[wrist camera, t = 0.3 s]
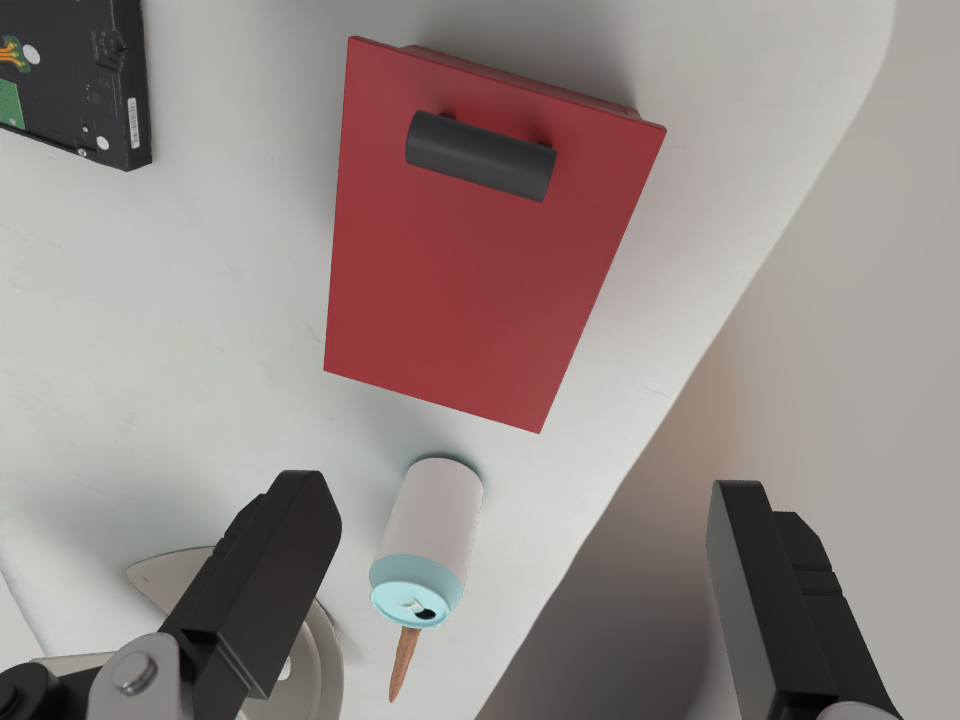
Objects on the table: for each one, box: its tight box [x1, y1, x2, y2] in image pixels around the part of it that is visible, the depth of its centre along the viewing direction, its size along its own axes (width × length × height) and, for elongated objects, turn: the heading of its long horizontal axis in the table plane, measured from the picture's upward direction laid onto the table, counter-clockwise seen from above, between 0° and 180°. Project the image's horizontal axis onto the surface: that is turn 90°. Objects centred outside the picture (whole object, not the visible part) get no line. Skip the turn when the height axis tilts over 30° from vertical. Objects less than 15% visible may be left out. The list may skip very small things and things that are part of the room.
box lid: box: [324, 36, 667, 434], centre depth 23 cm, size 16×13×5 cm
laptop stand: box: [29, 547, 344, 720], centre depth 60 cm, size 26×24×16 cm
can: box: [369, 458, 483, 629], centre depth 42 cm, size 7×7×12 cm
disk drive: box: [0, 0, 152, 172], centre depth 30 cm, size 10×3×15 cm
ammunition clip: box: [389, 626, 421, 703], centre depth 49 cm, size 11×2×12 cm, turn 168°
